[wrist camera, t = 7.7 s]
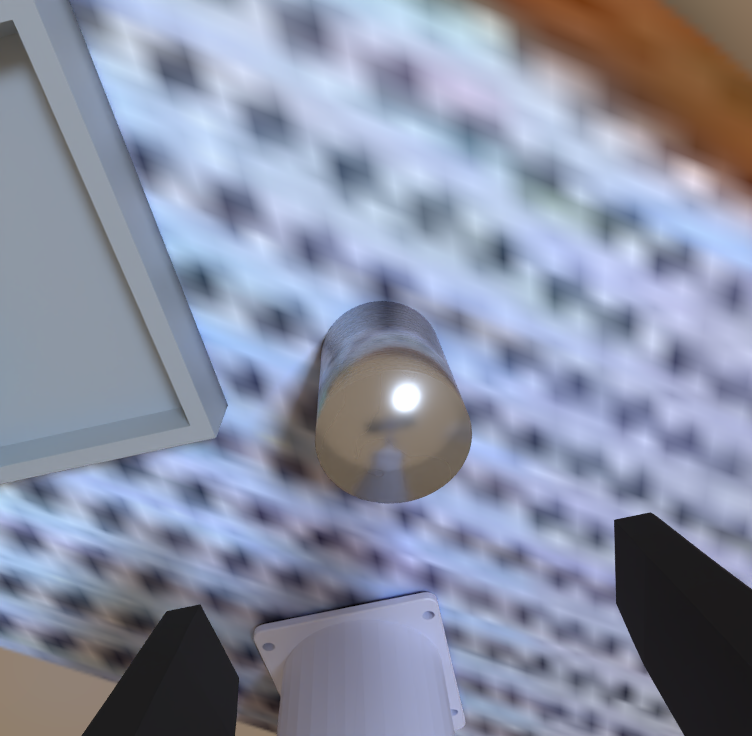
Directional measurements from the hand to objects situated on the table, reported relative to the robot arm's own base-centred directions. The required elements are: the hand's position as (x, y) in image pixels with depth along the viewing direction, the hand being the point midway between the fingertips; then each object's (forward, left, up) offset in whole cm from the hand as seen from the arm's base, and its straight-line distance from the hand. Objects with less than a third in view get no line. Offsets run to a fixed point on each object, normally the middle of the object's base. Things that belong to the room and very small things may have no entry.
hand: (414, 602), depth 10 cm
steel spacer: (0, 0, -10) cm, 10 cm away
